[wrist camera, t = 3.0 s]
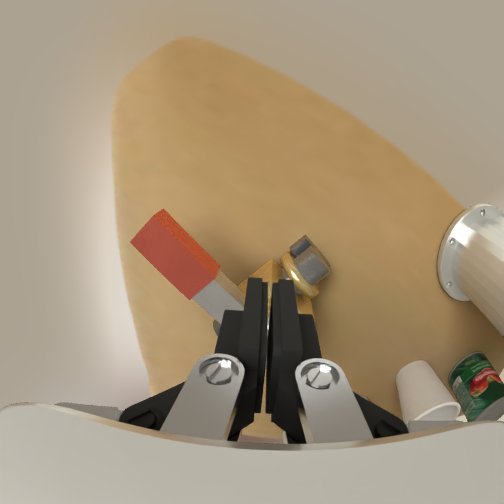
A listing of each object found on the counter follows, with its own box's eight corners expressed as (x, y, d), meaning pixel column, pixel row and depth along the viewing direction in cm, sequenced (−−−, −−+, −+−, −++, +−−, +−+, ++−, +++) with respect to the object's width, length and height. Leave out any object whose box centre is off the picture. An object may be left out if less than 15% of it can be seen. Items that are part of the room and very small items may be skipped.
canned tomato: (483, 343, 34) (515, 388, 23) (485, 368, 36) (510, 410, 26) (445, 369, 36) (471, 419, 26) (449, 392, 38) (471, 437, 28)
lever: (170, 201, 20) (160, 207, 18) (304, 334, 24) (306, 349, 22) (135, 239, 22) (124, 249, 20) (265, 359, 25) (264, 374, 23)
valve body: (298, 227, 29) (307, 261, 21) (334, 268, 30) (351, 312, 23) (208, 300, 33) (191, 347, 25) (244, 333, 34) (237, 382, 27)
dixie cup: (423, 344, 34) (451, 395, 25) (443, 368, 36) (467, 414, 26) (377, 378, 36) (394, 433, 27) (401, 398, 38) (417, 446, 29)
